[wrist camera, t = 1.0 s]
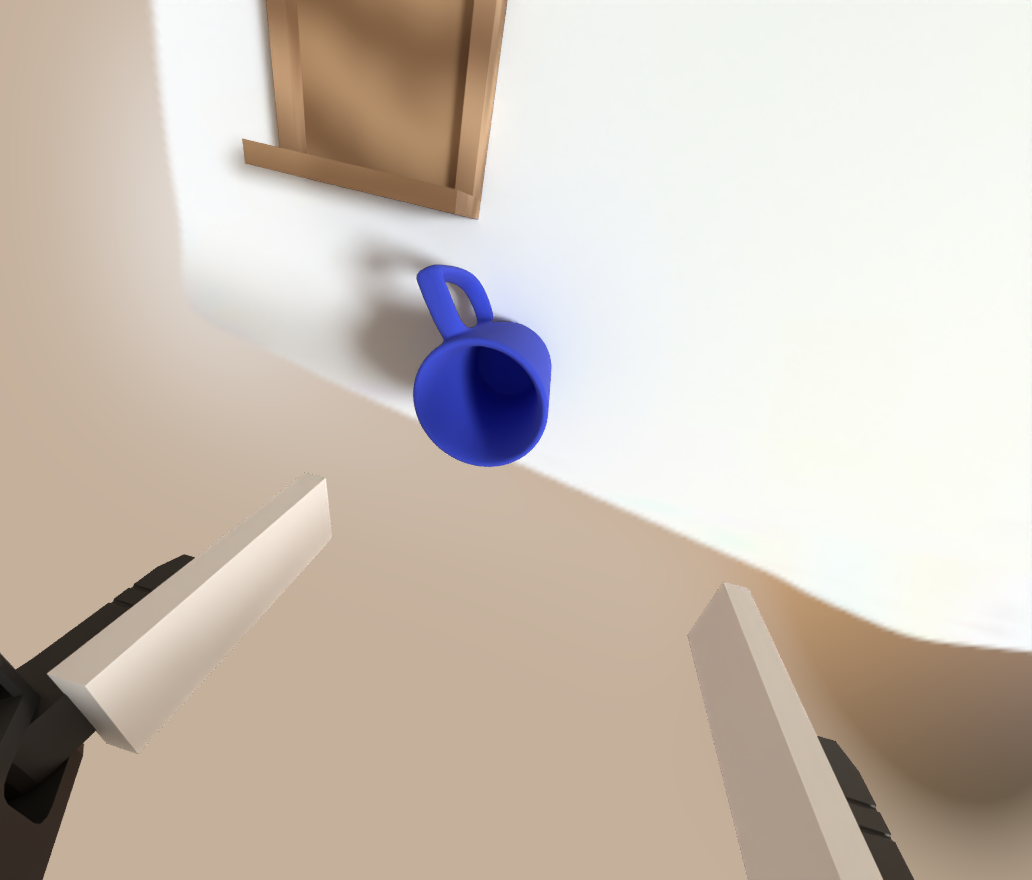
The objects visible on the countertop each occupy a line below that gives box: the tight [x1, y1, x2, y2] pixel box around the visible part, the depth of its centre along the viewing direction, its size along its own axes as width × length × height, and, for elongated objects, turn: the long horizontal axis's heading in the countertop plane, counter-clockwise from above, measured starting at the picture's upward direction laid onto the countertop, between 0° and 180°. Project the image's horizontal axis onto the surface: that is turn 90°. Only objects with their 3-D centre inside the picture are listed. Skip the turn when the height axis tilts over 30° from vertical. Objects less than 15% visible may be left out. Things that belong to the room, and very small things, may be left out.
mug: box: [413, 265, 551, 467], centre depth 25 cm, size 8×12×10 cm
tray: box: [242, 0, 507, 219], centre depth 20 cm, size 17×13×5 cm
